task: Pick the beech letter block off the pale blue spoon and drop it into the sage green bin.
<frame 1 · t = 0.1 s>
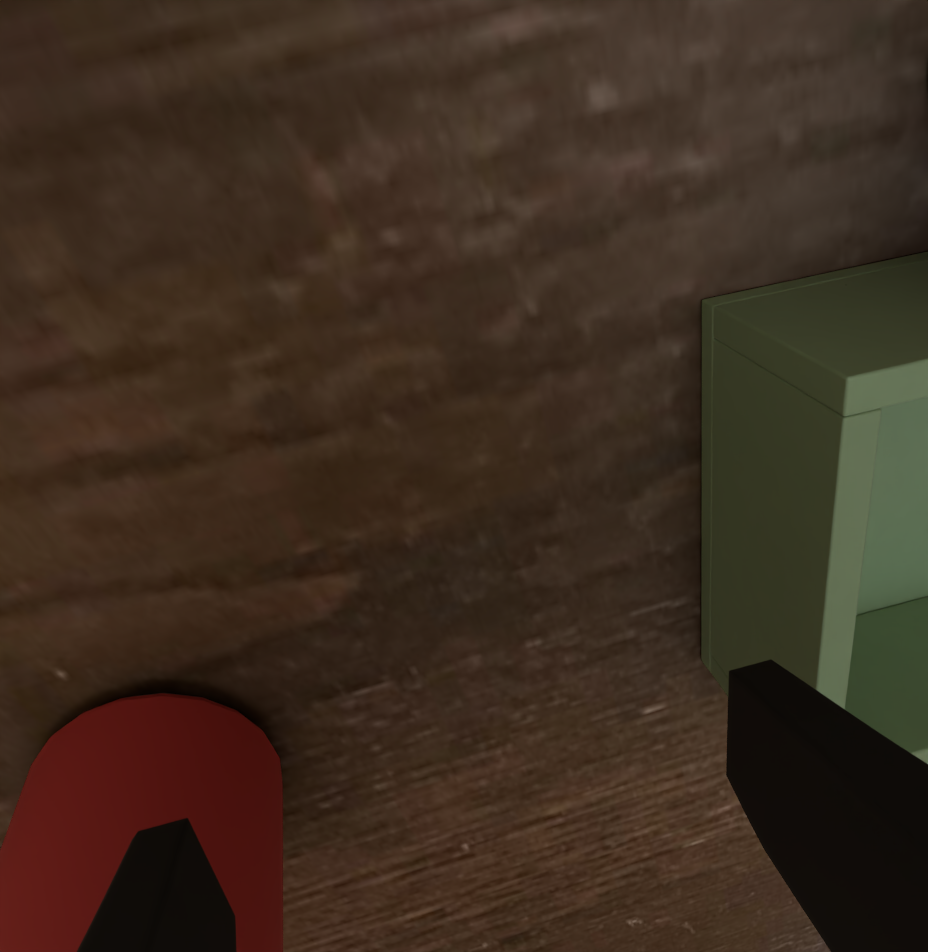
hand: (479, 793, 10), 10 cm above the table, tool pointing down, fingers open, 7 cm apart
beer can: (164, 764, 22), on the table
sage green bin: (890, 456, 22), on the table
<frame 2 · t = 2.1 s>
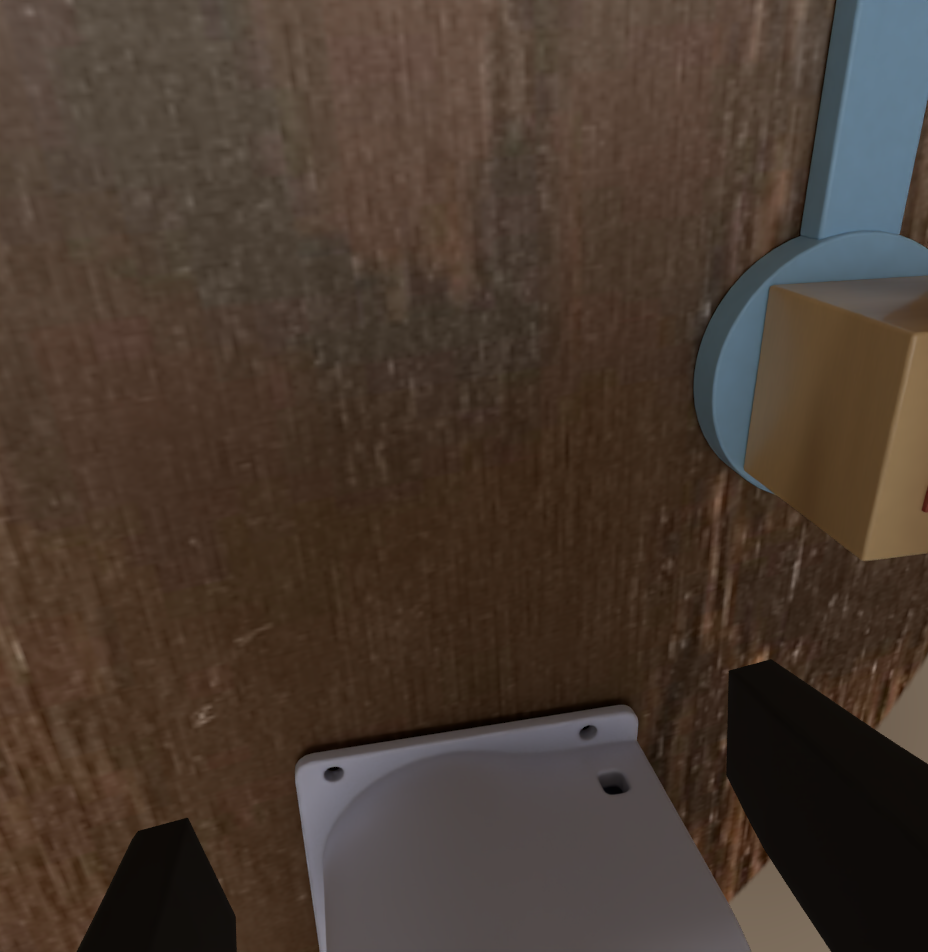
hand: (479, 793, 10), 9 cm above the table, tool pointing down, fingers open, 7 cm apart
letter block: (840, 374, 18), point 1 cm above the table, touching spoon
spoon: (815, 363, 19), on the table
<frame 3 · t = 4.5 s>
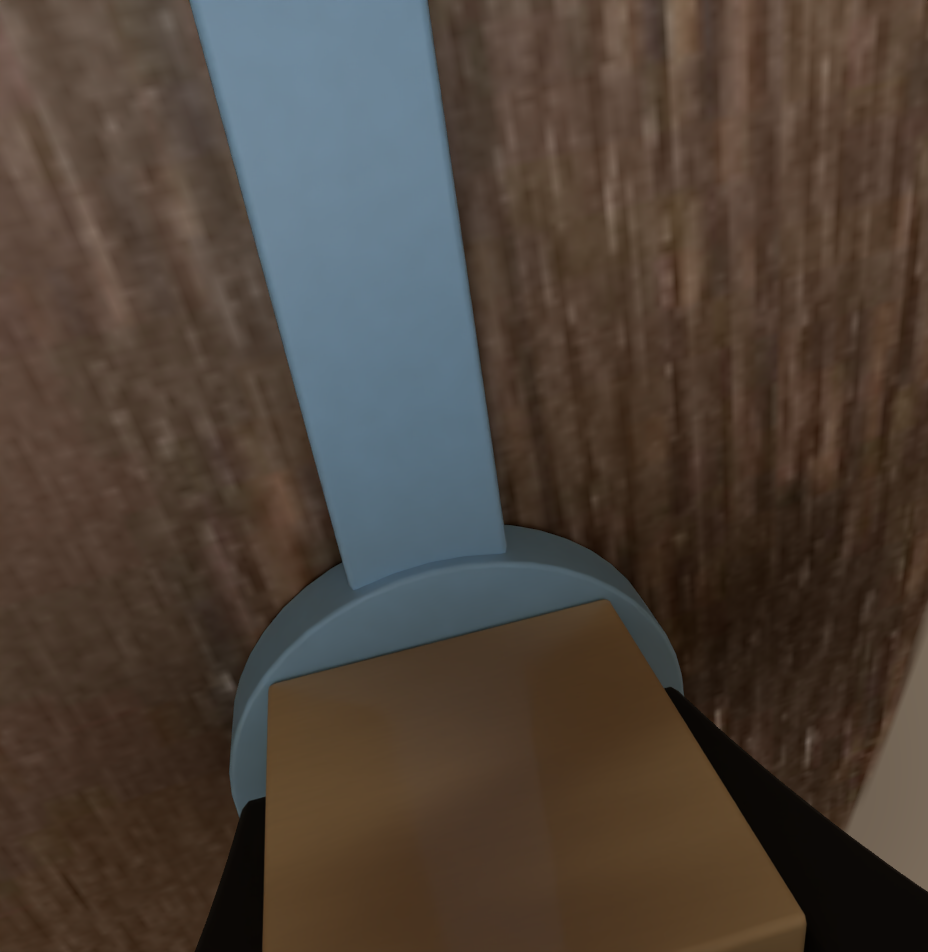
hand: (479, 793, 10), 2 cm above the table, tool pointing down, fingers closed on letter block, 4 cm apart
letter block: (467, 758, 11), point 1 cm above the table, touching gripper, spoon
spoon: (455, 706, 12), on the table
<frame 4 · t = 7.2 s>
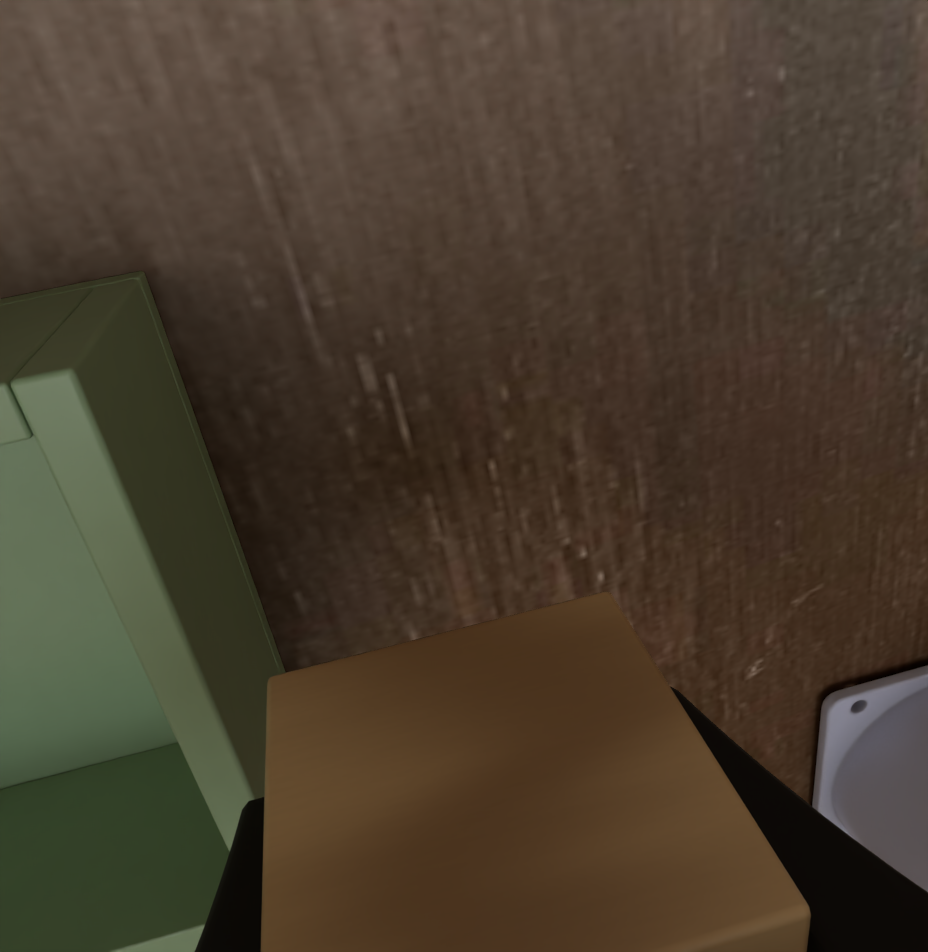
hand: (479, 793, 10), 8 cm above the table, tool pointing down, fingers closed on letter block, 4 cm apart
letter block: (467, 752, 11), point 8 cm above the table, touching gripper
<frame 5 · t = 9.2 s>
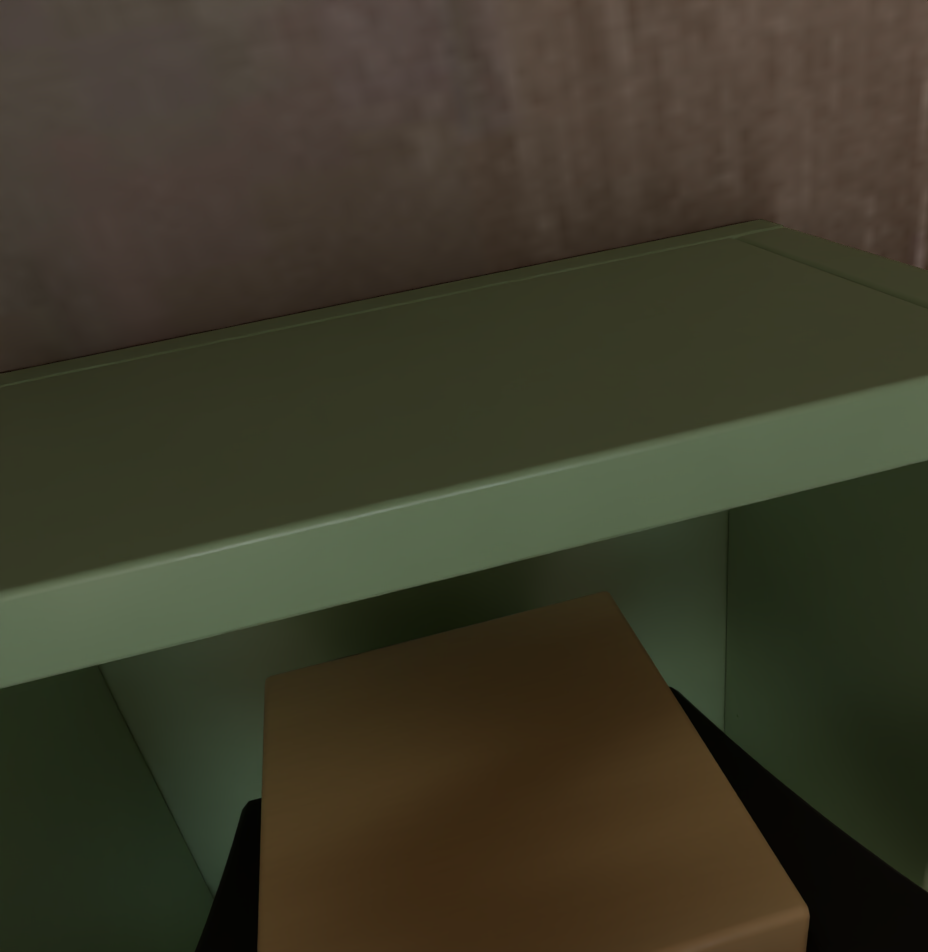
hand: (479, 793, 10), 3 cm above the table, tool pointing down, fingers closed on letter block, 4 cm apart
sage green bin: (435, 629, 13), on the table
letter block: (465, 752, 11), point 3 cm above the table, touching gripper
when the fingers open (2 cm above the table, at t = 10.9 s): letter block stays where it is, resting on sage green bin.
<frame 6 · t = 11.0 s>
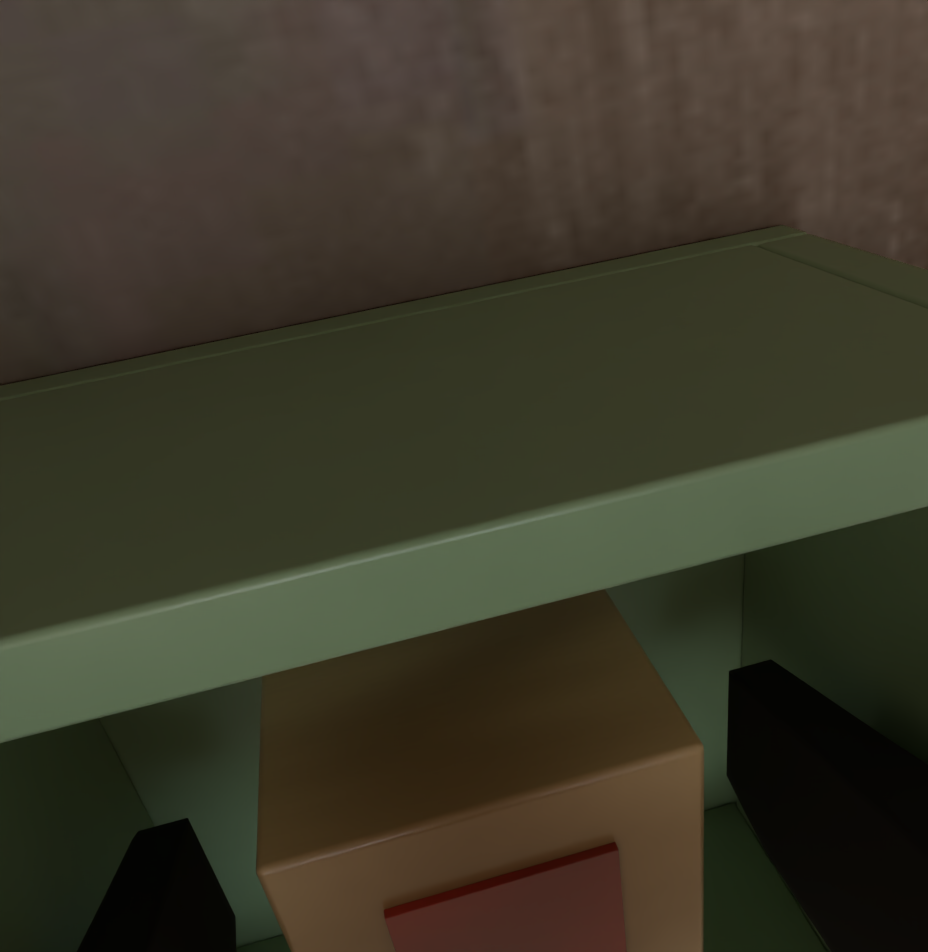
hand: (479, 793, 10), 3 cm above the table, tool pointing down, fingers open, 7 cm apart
sage green bin: (439, 651, 13), on the table
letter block: (441, 669, 12), point 1 cm above the table, touching sage green bin
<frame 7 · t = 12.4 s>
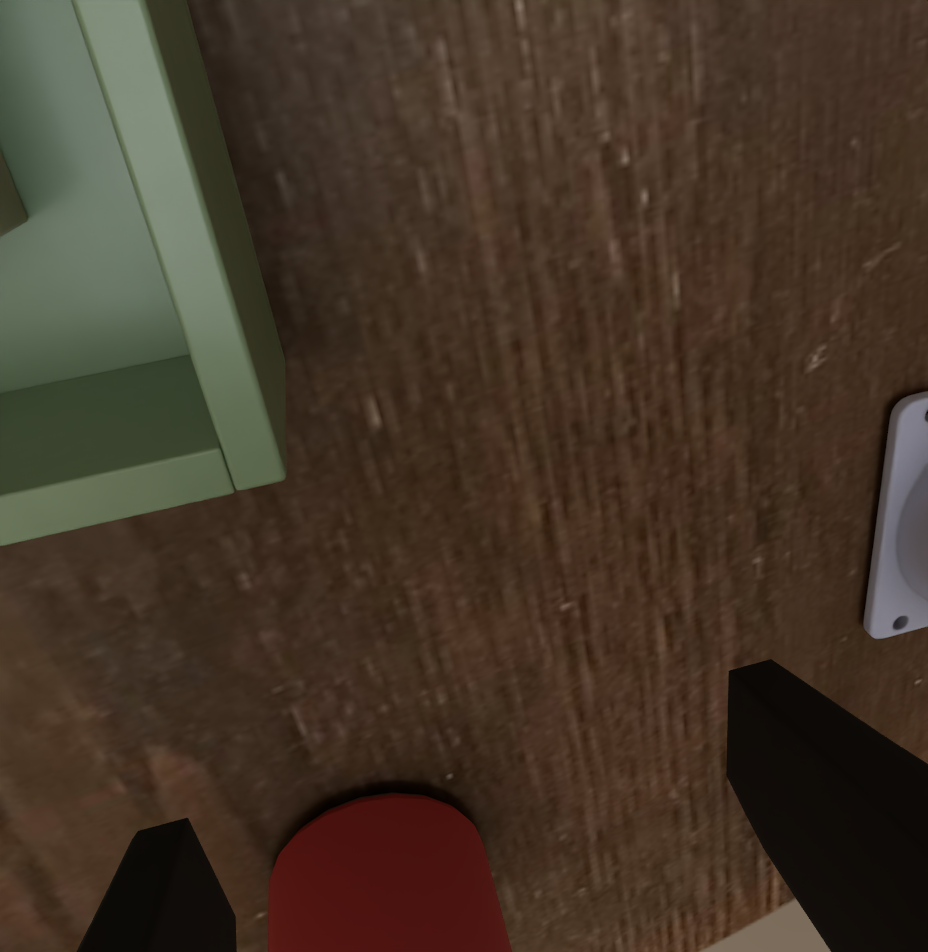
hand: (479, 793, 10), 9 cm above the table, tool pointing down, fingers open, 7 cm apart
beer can: (376, 850, 25), on the table
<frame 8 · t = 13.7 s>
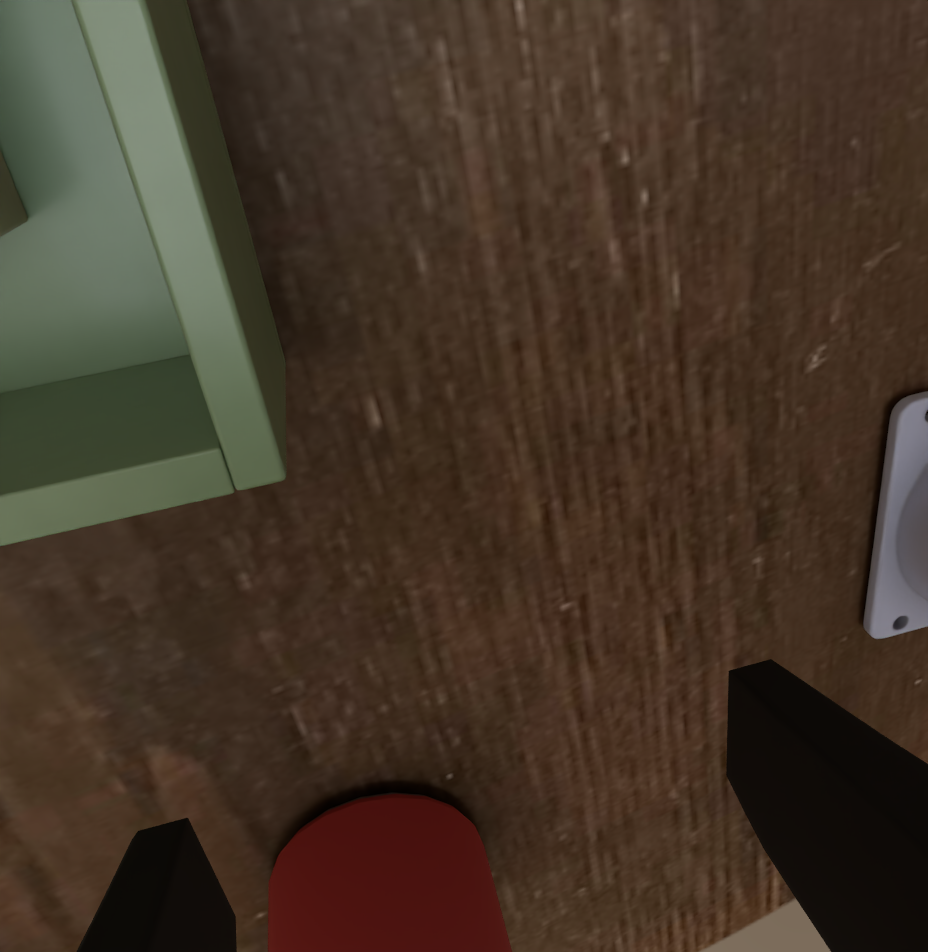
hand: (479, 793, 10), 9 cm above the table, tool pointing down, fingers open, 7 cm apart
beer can: (376, 850, 25), on the table
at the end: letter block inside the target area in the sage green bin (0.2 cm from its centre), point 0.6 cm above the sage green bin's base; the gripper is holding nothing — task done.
